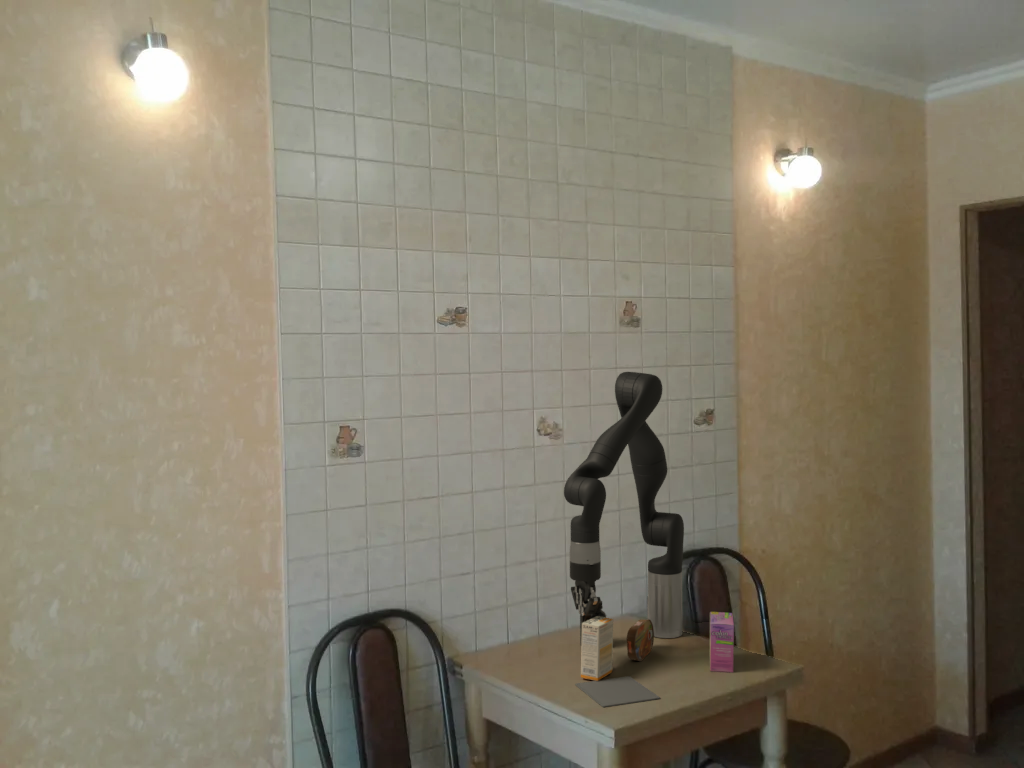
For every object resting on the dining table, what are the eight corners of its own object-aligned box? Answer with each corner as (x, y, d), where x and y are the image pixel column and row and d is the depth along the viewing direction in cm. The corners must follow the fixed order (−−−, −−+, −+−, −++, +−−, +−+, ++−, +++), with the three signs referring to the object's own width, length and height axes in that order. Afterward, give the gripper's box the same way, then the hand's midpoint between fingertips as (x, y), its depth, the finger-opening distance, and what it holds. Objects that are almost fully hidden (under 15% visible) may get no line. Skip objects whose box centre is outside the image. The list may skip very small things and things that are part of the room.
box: (734, 673, 224) (734, 624, 224) (709, 671, 225) (709, 623, 225) (732, 659, 234) (732, 612, 234) (709, 657, 235) (709, 611, 235)
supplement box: (594, 669, 227) (596, 615, 227) (612, 672, 225) (614, 618, 225) (579, 677, 220) (580, 622, 220) (597, 681, 218) (599, 625, 218)
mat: (575, 684, 217) (575, 683, 217) (629, 677, 222) (629, 676, 222) (603, 707, 203) (603, 706, 203) (660, 698, 207) (660, 697, 207)
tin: (636, 665, 230) (636, 631, 230) (624, 663, 232) (624, 630, 231) (655, 648, 244) (654, 616, 243) (643, 646, 245) (643, 614, 245)
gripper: (560, 555, 232) (560, 624, 232) (581, 566, 219) (582, 639, 220) (588, 552, 234) (588, 621, 235) (610, 563, 222) (611, 635, 222)
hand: (585, 629), depth 227 cm, fingers closed
